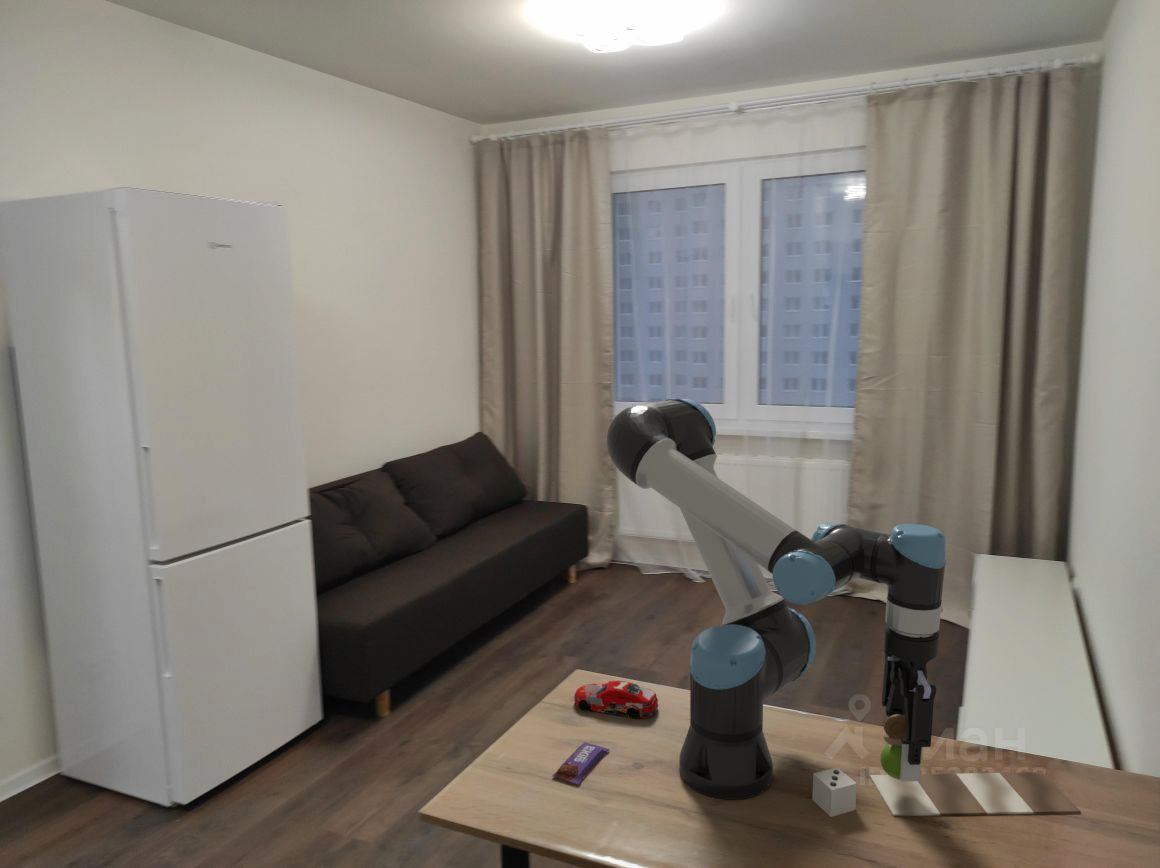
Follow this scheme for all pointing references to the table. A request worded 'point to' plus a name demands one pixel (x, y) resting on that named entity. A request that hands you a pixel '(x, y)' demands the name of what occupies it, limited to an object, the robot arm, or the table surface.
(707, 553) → the robot arm
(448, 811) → the table surface
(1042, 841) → the table surface
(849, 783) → the die
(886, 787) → the game board
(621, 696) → the race car
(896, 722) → the snail figurine
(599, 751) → the snack package
